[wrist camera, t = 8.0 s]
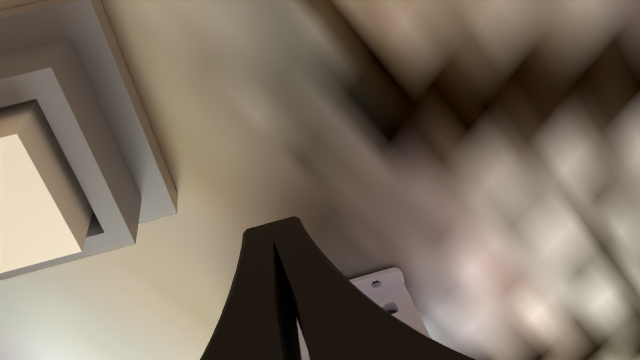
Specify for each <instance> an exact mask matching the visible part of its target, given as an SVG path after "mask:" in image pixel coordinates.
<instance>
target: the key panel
mask: <svg viewBox="0 0 640 360" xmlns="http://www.w3.org/2000/svg"><path fill="white" fill-rule="evenodd" d="M33 99H37V101H38V103H39V105H40V107H41V109H42V111H43V113H44V115H45V117H46V119H47V121H48V123H49V125H50V127H51V129H52V131H53V132H54V134H55V136H56V138H57V140H58V142H59V144H60V146H61V148H62V150H63V152H64V154H65V156H66V158H67V160H68V162H69V164H70V166H71V168H72V170H73V172H74V174H75V176H76V178H77V180H78V181H79V183H80V185H81V187H82V189H83V191H84V193H85V195H86V197H87V199H88V201H89V203H90V205H91V207H92V209H93V213H92V216H91V220H90V224H89V227H88V231H87V235H86V238H85V242H84V246H83V249H82V252H78V253H74V254H71V255H67V256H63V257H59V258H56V259H52V260H48V261H45V262H41V263H37V264H33V265H30V266H26V267H22V268H18V269H15V270H11V271H7V272H4V273H0V280H4V279H7V278H11V277H15V276H18V275H22V274H26V273H30V272H33V271H37V270H41V269H44V268H48V267H52V266H56V265H59V264H63V263H67V262H70V261H74V260H78V259H81V258H85V257H89V256H93V255H96V254H100V253H104V252H107V251H111V250H115V249H119V248H122V247H126V246H130V245H133V244H136V236H137V229H138V224H140V223H143V222H147V221H151V220H155V219H158V218H162V217H166V216H170V215H173V214H177V200H178V194H177V192H176V189H175V187H174V184H173V181H172V179H171V176H170V174H169V171H168V169H167V166H166V164H165V161H164V159H163V156H162V154H161V151H160V149H159V146H158V144H157V141H156V138H155V136H154V133H153V131H152V128H151V126H150V123H149V121H148V118H147V116H146V113H145V111H144V108H143V106H142V103H141V101H140V98H139V96H138V93H137V90H136V88H135V85H134V83H133V80H132V78H131V75H130V73H129V70H128V68H127V65H126V63H125V60H124V58H123V55H122V53H121V50H120V48H119V45H118V42H117V40H116V37H115V35H114V32H113V30H112V27H111V25H110V22H109V20H108V17H107V15H106V12H105V10H104V7H103V5H102V2H101V0H43V1H39V2H34V3H30V4H26V5H22V6H17V7H13V8H9V9H4V10H0V108H1V107H5V106H9V105H13V104H17V103H21V102H25V101H29V100H33Z"/></svg>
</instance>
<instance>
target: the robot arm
mask: <svg viewBox="0 0 640 360" xmlns="http://www.w3.org/2000/svg"><path fill="white" fill-rule="evenodd" d="M374 281H377V282H376V283H373V282H374ZM200 360H475V359H473V358H470V357H468V356H466V355H463V354H461V353H459V352H457V351H454V350H452V349H450V348H448V347H446V346H444V345H442V344H440V343H438V342H436V341H435V340H433V339H431V337H430V335H429V333H428V331H427V329H426V327H425V325H424V323H423V321H422V319H421V317H420V315H419V313H418V311H417V309H416V307H415V305H414V303H413V301H412V299H411V297H410V295H409V293H408V291H407V289H406V287H405V285H404V278H403V274H402V272H401V270H400V269H399V268H389V269H386V270H382V271H379V272H375V273H372V274H368V275H365V276H361V277H358V278H354V279H351V280H348V279H347V278H346V277H345V276H344V275H343V274H342V273H341V272H340V271H339V270H338V269H337V268H336V267H335V266H334V265H333V264H332V263H331V262H330V260H329V259H328V258H327V257H326V256H325V255H324V254H323V253H322V251H321V250H320V249H319V248H318V247H317V245H316V244H315V243H314V241H313V240H312V239H311V237H310V236H309V235H308V233H307V232H306V230H305V229H304V227H303V225H302V223H301V221H300V219H299V218H297V217H295V216H293V217H290V218H286V219H282V220H279V221H275V222H271V223H267V224H264V225H260V226H256V227H253V228H249V229H246V231H245V232H244V233H243V240H242V247H241V252H240V257H239V261H238V265H237V269H236V272H235V276H234V279H233V282H232V286H231V289H230V292H229V295H228V298H227V300H226V303H225V306H224V308H223V311H222V314H221V316H220V319H219V321H218V324H217V326H216V328H215V330H214V333H213V335H212V337H211V339H210V341H209V343H208V345H207V347H206V349H205V351H204V353H203V355H202V357H201V359H200Z"/></svg>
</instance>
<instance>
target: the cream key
mask: <svg viewBox="0 0 640 360" xmlns="http://www.w3.org/2000/svg"><path fill="white" fill-rule="evenodd" d="M92 213H93V209H92V207H91V205H90V203H89V201H88V199H87V197H86V195H85V193H84V191H83V189H82V187H81V185H80V183H79V181H78V180H77V178H76V176H75V174H74V172H73V170H72V168H71V166H70V164H69V162H68V160H67V158H66V156H65V154H64V152H63V150H62V148H61V146H60V144H59V142H58V140H57V138H56V136H55V134H54V132H53V131H52V129H51V127H50V125H49V123H48V121H47V119H46V117H45V115H44V113H43V111H42V109H41V107H40V105H39V103H38V101H37V99H33V100H29V101H25V102H21V103H17V104H13V105H9V106H5V107H1V108H0V273H4V272H7V271H11V270H15V269H18V268H22V267H26V266H30V265H33V264H37V263H41V262H45V261H48V260H52V259H56V258H59V257H63V256H67V255H71V254H74V253H78V252H82V249H83V246H84V242H85V238H86V235H87V231H88V227H89V224H90V220H91V216H92Z"/></svg>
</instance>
